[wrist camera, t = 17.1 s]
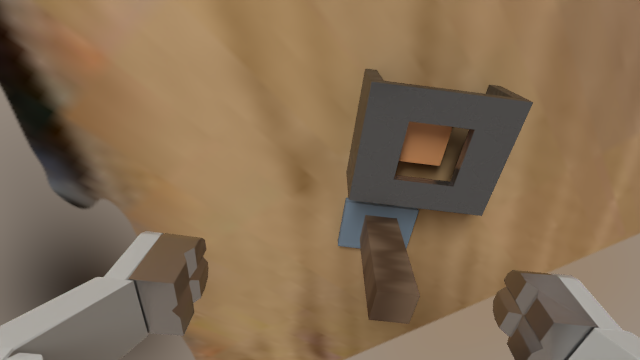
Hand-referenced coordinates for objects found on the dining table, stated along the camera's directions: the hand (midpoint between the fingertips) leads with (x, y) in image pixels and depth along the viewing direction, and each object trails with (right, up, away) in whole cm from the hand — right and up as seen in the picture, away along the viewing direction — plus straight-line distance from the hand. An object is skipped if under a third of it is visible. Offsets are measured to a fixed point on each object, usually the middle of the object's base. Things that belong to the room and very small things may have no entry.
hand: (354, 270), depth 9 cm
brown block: (+6, -4, +32) cm, 33 cm away
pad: (+6, -3, +33) cm, 34 cm away
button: (+10, +8, +26) cm, 29 cm away
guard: (+10, +8, +27) cm, 29 cm away
